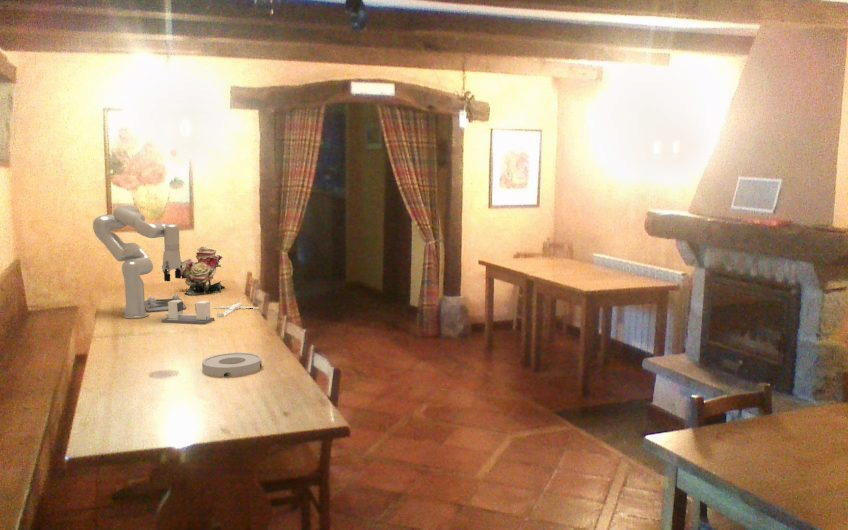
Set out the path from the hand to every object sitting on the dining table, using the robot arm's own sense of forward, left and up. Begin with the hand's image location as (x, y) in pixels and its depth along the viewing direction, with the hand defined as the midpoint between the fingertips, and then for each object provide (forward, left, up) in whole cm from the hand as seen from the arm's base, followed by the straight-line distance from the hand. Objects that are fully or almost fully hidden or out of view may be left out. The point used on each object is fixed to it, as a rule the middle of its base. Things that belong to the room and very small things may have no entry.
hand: (172, 279), depth 383 cm
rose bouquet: (-29, +80, -22) cm, 88 cm away
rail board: (+9, -3, -22) cm, 24 cm away
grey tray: (-26, +32, -22) cm, 47 cm away
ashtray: (+75, -81, -22) cm, 113 cm away
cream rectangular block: (+2, -3, -20) cm, 20 cm away
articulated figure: (+19, +25, -23) cm, 39 cm away
